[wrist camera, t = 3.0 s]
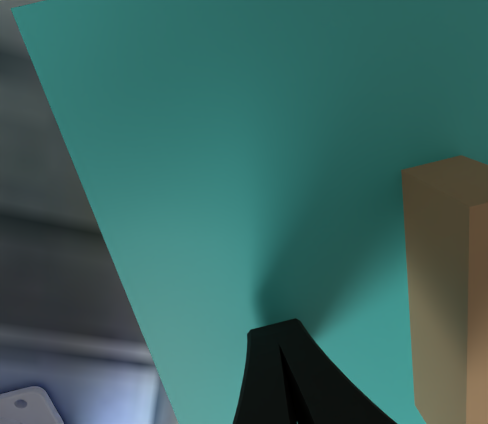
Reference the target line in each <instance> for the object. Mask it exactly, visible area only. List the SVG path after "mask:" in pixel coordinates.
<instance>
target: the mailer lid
mask: <svg viewBox="0 0 488 424" xmlns="http://www.w3.org/2000/svg"><path fill="white" fill-rule="evenodd" d="M11 11H12V13H13V16H14V18H15V20H16V23H17V25H18V28H19V30H20V33H21V35H22V38H23V40H24V43H25V45H26V48H27V50H28V53H29V55H30V57H31V60H32V62H33V65H34V67H35V70H36V72H37V75H38V77H39V80H40V82H41V85H42V87H43V90H44V92H45V94H46V97H47V99H48V102H49V104H50V107H51V109H52V112H53V114H54V117H55V119H56V122H57V124H58V127H59V129H60V131H61V134H62V136H63V139H64V141H65V144H66V146H67V149H68V151H69V154H70V156H71V159H72V161H73V164H74V166H75V169H76V171H77V173H78V176H79V178H80V181H81V183H82V186H83V188H84V191H85V193H86V196H87V198H88V201H89V203H90V206H91V208H92V210H93V213H94V215H95V218H96V220H97V223H98V225H99V228H100V230H101V233H102V235H103V238H104V240H105V243H106V245H107V247H108V250H109V252H110V255H111V257H112V260H113V262H114V265H115V267H116V270H117V272H118V275H119V277H120V280H121V282H122V284H123V287H124V289H125V292H126V294H127V297H128V299H129V302H130V304H131V307H132V309H133V312H134V314H135V317H136V319H137V321H138V324H139V326H140V329H141V331H142V334H143V336H144V339H145V341H146V344H147V346H148V349H149V351H150V354H151V356H152V359H153V361H154V363H155V366H156V368H157V371H158V373H159V376H160V378H161V381H162V383H163V386H164V388H165V391H166V393H167V396H168V398H169V400H170V403H171V405H172V408H173V410H174V413H175V415H176V418H177V420H178V423H179V424H233V420H234V416H235V412H236V409H237V405H238V400H239V395H240V390H241V385H242V380H243V375H244V369H245V362H246V353H247V333H248V332H249V331H250V330H251V329H255V328H259V327H263V326H267V325H271V324H275V323H278V322H282V321H286V320H290V319H294V318H296V319H298V320H300V321H301V322H302V324H303V326H304V327H305V329H306V330H307V331H308V333H309V334H310V335H311V337H312V338H313V339H314V341H315V342H316V343H317V344H318V346H319V347H320V348H321V349H322V350H323V352H324V353H325V354H326V355H327V356H328V357H329V358H330V359H331V361H332V362H333V363H334V364H335V365H336V366H337V367H338V368H339V369H340V370H341V371H342V372H343V373H344V374H345V375H346V377H347V378H348V379H349V380H350V381H351V382H352V383H353V384H354V385H355V386H356V387H357V388H358V389H360V390H361V391H362V392H363V393H364V394H365V395H366V396H367V397H368V398H369V399H370V400H371V401H372V402H373V403H374V404H376V405H377V406H378V407H379V408H380V409H381V410H382V411H383V412H384V413H386V414H387V415H388V416H389V417H390V418H391V419H393V420H394V421H395V422H396V423H397V424H488V0H45V1H41V2H37V3H32V4H28V5H24V6H19V7H15V8H11ZM297 424H298V422H297Z"/></svg>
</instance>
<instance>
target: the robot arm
mask: <svg viewBox="0 0 488 424" xmlns="http://www.w3.org/2000/svg"><path fill="white" fill-rule="evenodd" d="M21 399H22V400H25V401H22V400H21ZM297 422H298V424H397V423H396V422H395V421H394V420H393V419H391V418H390V417H389V416H388V415H387V414H386V413H384V412H383V411H382V410H381V409H380V408H379V407H378V406H377V405H376V404H374V403H373V402H372V401H371V400H370V399H369V398H368V397H367V396H366V395H365V394H364V393H363V392H362V391H361V390H360V389H358V388H357V387H356V386H355V385H354V384H353V383H352V382H351V381H350V380H349V379H348V378H347V377H346V375H345V374H344V373H343V372H342V371H341V370H340V369H339V368H338V367H337V366H336V365H335V364H334V363H333V362H332V361H331V359H330V358H329V357H328V356H327V355H326V354H325V353H324V352H323V350H322V349H321V348H320V347H319V346H318V344H317V343H316V342H315V341H314V339H313V338H312V337H311V335H310V334H309V333H308V331H307V330H306V329H305V327H304V326H303V324H302V322H301V321H300V320H298V319H296V318H294V319H290V320H286V321H282V322H278V323H275V324H271V325H267V326H263V327H259V328H255V329H251V330H250V331H249V332H248V333H247V353H246V362H245V369H244V375H243V380H242V385H241V390H240V395H239V400H238V405H237V409H236V412H235V416H234V420H233V424H297ZM0 424H64V422H63V421H62V419H61V417H60V415H59V414H58V412H57V410H56V408H55V407H54V405H53V403H52V401H51V400H50V398H49V396H48V394H47V393H46V391H45V390H44V389H43V388H41V387H37V386H32V387H27V388H23V389H19V390H15V391H11V392H7V393H3V394H0Z"/></svg>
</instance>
